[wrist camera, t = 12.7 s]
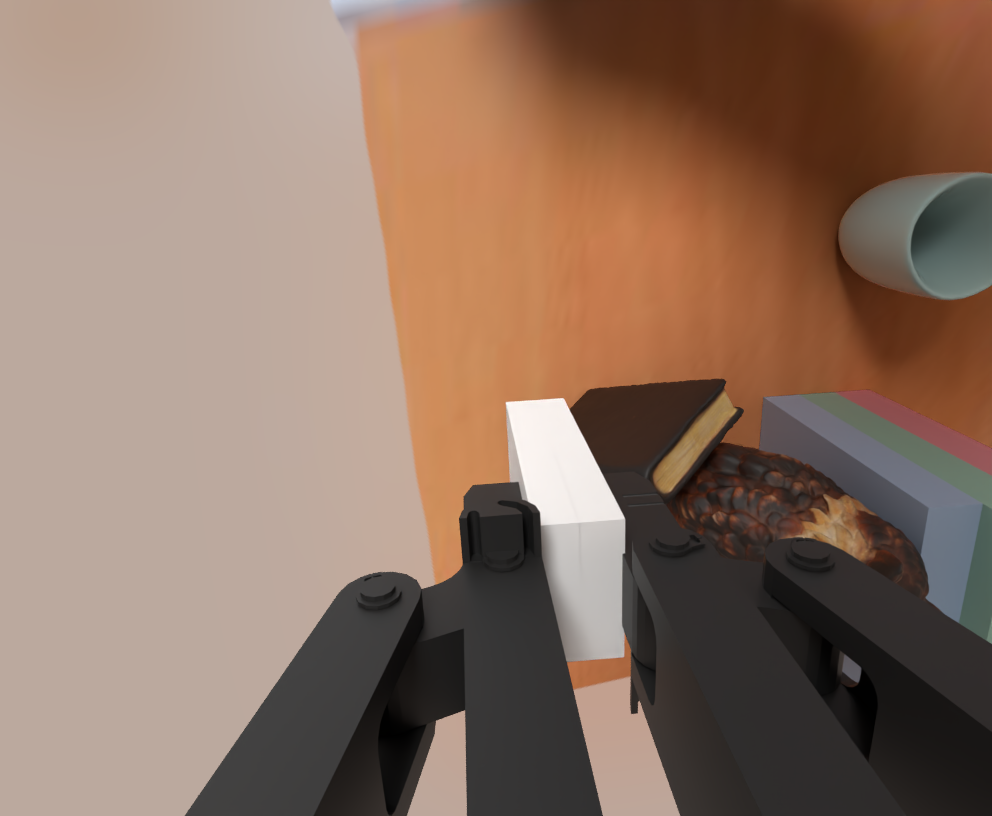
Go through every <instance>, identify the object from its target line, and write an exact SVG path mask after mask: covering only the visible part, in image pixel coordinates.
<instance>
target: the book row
mask: <svg viewBox="0 0 992 816" xmlns="http://www.w3.org/2000/svg"><path fill="white" fill-rule="evenodd" d="M759 450H762V451H766V452H772V453H776V454H784V455H787V456H789V457H792V458H795V459H798V460H799V461H801V462H802V463H803V464H804V465H805V464H806V463H807V464H809V465H811V466H812V467H813V468H814V469H815V470H817V471H820V472H822V473H823V474H824V475H825V476H826V477H829V478H831V479H832V480H833V481H834V482H835V483H836V485H837V486H838V487H840V488H841V489H842V490H843V491H844V492H845V493H848V494H849V495H850V496H852V497H854V498H856V499H857V500H859V501H860V502H861V503H862V504H863V505H864V506H865V507H866V508H867V509H869V510H870V511H872V512H874V513H876V514H877V515H878V516H879V517H880V518H882V519H883V520H884V521H887V522H889V523H891V524H892V525H893V526H894V527H895V528H898V529H899V530H901V531H902V532H903V533H904V534H905V536H906V537H907V538H908V539H909V540H910V541H911V542H912V543H913V544H914V545H915V547H916V549H917V550H918V552H919V553H920V555H921V557H922V559H923V562H924V565H925V569H926V572H927V575H928V584H929V593H928V595H927V596H926V599H927V600H928V601H929V602H931V603H932V604H934V605H935V606H936V607H937V608H939V609H940V610H941V611H942V612H943V613H944V614H945V615H947V616H948V617H950V618H951V619H953V620H955V621H956V622H958V623H959V624H961V625H963V626H964V627H966V628H967V629H969V630H971V631H972V632H974V633H975V634H977V635H978V636H980V637H982V638H983V639H985V640H986V641H988V642H990V643H991V644H992V448H990V447H988V446H986V445H984V444H982V443H980V442H978V441H975V440H973V439H971V438H969V437H967V436H965V435H963V434H961V433H959V432H957V431H955V430H952V429H950V428H948V427H946V426H944V425H942V424H940V423H938V422H936V421H934V420H932V419H930V418H927V417H925V416H923V415H921V414H919V413H917V412H915V411H913V410H911V409H909V408H907V407H904V406H902V405H900V404H898V403H896V402H894V401H892V400H890V399H888V398H886V397H884V396H881V395H879V394H877V393H875V392H873V391H871V390H857V391H843V392H829V393H814V394H800V395H786V396H772V397H763V408H762V421H761V434H760V446H759ZM842 672H844V673H845V674H846V675H847V676H848V677H849V678H851V679H852V680H854V681H855V682H857V683H858V682H859V680H860V674H861V667H860V666H858V665H857V664H856V663H855V662H854V661H852V660H851V659H850V658H849V657H847V656H846V655H844V662H843V669H842Z"/></svg>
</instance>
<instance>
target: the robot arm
mask: <svg viewBox="0 0 992 816" xmlns="http://www.w3.org/2000/svg"><path fill="white" fill-rule="evenodd" d="M506 415H507V433H508V452H509V470H510V483H497V484H483V485H473V486H472V487H471V488H470V490H469V491H468V492H467V493H466V494H465V496H464V510H463V511H462V513H461V515H460V518H459V523H460V535H461V547H462V559H463V566H462V567H461V569H460V570H459V571H458V572H457V573H456V574H455V575H454V576H453V577H451V578H449V579H448V580H446V581H444V582H442V583H439V584H437V585H434V586H431V587H428V588H424V589H421V587H420V585H419V584H418V582H417V580H415V579H413V578H412V577H410V576H408V575H407V574H402V573H396V572H378V573H373V574H369V575H366V576H363V577H360V578H359V579H357V580H355V581H353V582H351V583H349V584H348V585H347V586H346V587H345V588H344V589H343V590H341V592H340V593H339V594H338V595H337V596H336V598H335V599H334V601H333V602H332V604H331V605H330V607H329V608H328V609H327V611H326V613H325V614H324V615H323V617H322V618H321V620H320V621H319V622H318V624H317V625H316V627H315V628H314V630H313V631H312V633H311V634H310V636H309V637H308V638H307V640H306V641H305V643H304V644H303V646H302V647H301V649H300V650H299V651H298V653H297V654H296V656H295V657H294V659H293V660H292V662H291V663H290V664H289V666H288V667H287V669H286V670H285V672H284V673H283V674H282V676H281V678H280V679H279V680H278V682H277V683H276V685H275V686H274V688H273V689H272V690H271V692H270V693H269V695H268V696H267V698H266V699H265V701H264V702H263V704H262V705H261V706H260V708H259V709H258V711H257V712H256V714H255V715H254V717H253V718H252V719H251V721H250V722H249V724H248V725H247V727H246V728H245V729H244V731H243V732H242V734H241V735H240V737H239V738H238V740H237V741H236V742H235V744H234V746H233V747H232V748H231V750H230V751H229V753H228V754H227V755H226V757H225V759H224V760H223V761H222V763H221V764H220V766H219V767H218V769H217V770H216V771H215V773H214V774H213V776H212V777H211V779H210V780H209V782H208V783H207V784H206V786H205V787H204V789H203V790H202V792H201V793H200V795H199V796H198V797H197V799H196V800H195V802H194V803H193V805H192V806H191V808H190V809H189V810H188V812H187V813H186V815H185V816H407V813H408V810H409V807H410V805H411V802H412V799H413V796H414V793H415V790H416V787H417V784H418V781H419V778H420V775H421V772H422V769H423V766H424V763H425V761H426V758H427V755H428V752H429V749H430V746H431V743H432V740H433V737H434V734H435V724H436V720H439V719H442V718H444V717H447V716H450V715H453V714H455V713H458V712H461V711H464V710H465V718H466V719H465V722H466V780H467V816H603V815H602V811H601V806H600V802H599V798H598V793H597V789H596V785H595V781H594V776H593V772H592V768H591V764H590V759H589V755H588V751H587V746H586V742H585V738H584V734H583V730H582V725H581V721H580V717H579V713H578V708H577V704H576V700H575V695H574V691H573V687H572V683H571V678H570V674H569V670H568V666H567V662H573V661H585V660H596V659H608V658H620V657H624V632H625V635H626V637H627V640H628V642H629V645H630V648H631V693H630V695H631V696H630V705H631V714H635V713H638V701H639V700H640V703H641V705H642V708H643V711H644V714H645V717H646V720H647V723H648V725H649V728H650V731H651V734H652V737H653V739H654V742H655V745H656V748H657V751H658V754H659V757H660V759H661V762H662V765H663V768H664V770H665V773H666V776H667V779H668V782H669V785H670V788H671V791H672V793H673V796H674V799H675V802H676V805H677V808H678V810H679V813H680V816H992V644H991V643H990V642H988V641H986V640H985V639H983V638H982V637H980V636H978V635H977V634H975V633H974V632H972V631H971V630H969V629H967V628H966V627H964V626H963V625H961V624H959V623H958V622H956V621H955V620H953V619H951V618H950V617H948V616H947V615H945V614H944V613H942V612H940V611H939V610H937V609H936V608H934V607H932V606H931V605H929V604H928V603H926V602H925V601H923V600H921V599H920V598H918V597H917V596H915V595H913V594H912V593H910V592H909V591H907V590H905V589H904V588H902V587H901V586H899V585H898V584H896V583H894V582H893V581H891V580H890V579H888V578H886V577H885V576H883V575H882V574H880V573H879V572H877V571H875V570H874V569H872V568H871V567H869V566H867V565H866V564H864V563H863V562H861V561H859V560H858V559H856V558H855V557H853V556H852V555H850V554H848V553H847V552H845V551H844V550H842V549H839V548H837V547H835V546H833V545H831V544H829V543H825V542H822V541H818V540H816V539H813V538H806V537H805V538H803V537H794V538H785V539H779V540H777V541H774V542H772V543H770V544H769V545H768V546H767V548H766V549H765V551H764V563H763V562H753V561H743V560H735V559H729V558H723V557H721V556H720V555H719V553H718V552H717V551H716V549H715V548H714V546H713V545H712V544H711V542H709V541H708V540H707V539H706V538H705V537H704V536H702V535H700V534H698V533H696V532H693V531H691V530H688V529H683V528H681V527H680V525H679V524H678V522H677V521H676V519H675V518H674V516H673V515H672V513H671V512H670V510H669V509H668V507H667V506H666V504H664V501H663V500H662V498H661V497H660V495H658V492H657V491H656V489H655V488H654V486H653V485H652V483H651V482H650V481H649V480H648V479H646V478H644V477H642V476H641V475H639V474H637V473H635V472H621V473H608V474H602V473H601V471H600V469H599V467H598V465H597V463H596V461H595V459H594V457H593V455H592V453H591V451H590V449H589V447H588V445H587V443H586V441H585V439H584V437H583V435H582V433H581V432H580V430H579V428H578V426H577V424H576V422H575V420H574V418H573V416H572V414H571V412H570V410H569V408H568V406H567V404H566V402H565V400H564V398H559V399H545V400H530V401H516V402H506ZM844 655H846V656H847V657H849V658H850V659H851V660H852V661H854V662H855V663H856V664H857V665H858V666H860V667H861V674H860V680H859V682H858V683H857V682H855V681H854V680H852V679H851V678H849V677H848V676H847V675H846V674H845V673H844V672H842V669H843V662H844Z"/></svg>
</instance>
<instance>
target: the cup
mask: <svg viewBox="0 0 992 816" xmlns="http://www.w3.org/2000/svg"><path fill="white" fill-rule="evenodd" d="M838 240H839V247H840V250H841V253H842V256H843V258H844V259H845V261H846V263H847V264H848V265H849V266H850V267H851V269H852V270H853V271H854V272H856V273H857V274H858V275H860V276H861V277H862V278H864V279H866V280H868V281H870V282H872V283H875V284H877V285H880V286H882V287H885V288H888V289H891V290H895V291H899V292H903V293H907V294H911V295H916V296H920V297H925V298H930V299H938V300H956V299H963V298H966V297H969V296H973V295H975V294H977V293H979V292H981V291H983V290H985V289H987V288H988V287H990V286H991V285H992V173H985V172H946V173H931V174H922V175H914V176H907V177H901V178H898V179H894V180H891V181H888V182H885V183H882V184H879V185H877V186H875V187H874V188H872V189H870V190H868V191H866V192H865V193H864V194H862V195H861V196H859V197H858V198H857V199H856V200H855V201H854V202H853V203H852V204H851V205H850V206H849V208H848V209H847V210H846V212H845V213H844V215H843V217H842V219H841V222H840V226H839V231H838Z"/></svg>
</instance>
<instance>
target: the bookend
mask: <svg viewBox="0 0 992 816" xmlns="http://www.w3.org/2000/svg"><path fill="white" fill-rule="evenodd" d="M725 384H726V381H725V380H724V379H711V380H690V381H689V380H688V381H683V382H682V381H680V382H669V383H667V382H663V383H650V384H644V385H631V386H618V387H617V386H616V387H609V388H595V389H590V390H588V391H587V392H586V393H585V394H584V395H583V396H582V397H581V398H580V399H579V400H578V401H577V402H576V403H575V404H574V406H573V407H571V408H570V409H569V410H570V412H571V414H572V416H573V418H574V420H575V422H576V424H577V426H578V428H579V430H580V432H581V433H582V435H583V437H584V439H585V441H586V443H587V445H588V447H589V449H590V451H591V453H592V455H593V457H594V459H595V461H596V463H597V465H598V467H599V469H600V471H601V473H602V474H608V473H621V472H635V473H637V474H639V475H641V476H642V477H644V478H646V479H648V480H649V481H650V482H651V483H652V485H653V486H654V488H655V489H656V491H657V492H658V495H660V497H661V498H662V500H663V501H664V504H666V506H667V507H668V509H669V510H670V512H671V513H672V515H673V516H674V518H675V519H676V521H677V522H678V524H679V525H680V527H681V528H683V529H688V530H691V531H693V532H696V533H698V534H700V535H702V536H704V537H705V538H706V539H707V540H708V541H709V542H711V544H712V545H713V546H714V548H715V549H716V551H717V552H718V553H719V555H720V556H721V557H723V558H729V559H735V560H743V561H753V562H763V563H764V551H765V549H766V548H767V546H768V545H769V544H770V543H772V542H774V541H777V540H779V539H785V538H794V537H803V538H805V537H806V538H813V539H816V540H818V541H822V542H825V543H829V544H831V545H833V546H835V547H837V548H839V549H842V550H844V551H845V552H847V553H848V554H850V555H852V556H853V557H855V558H856V559H858V560H859V561H861V562H863V563H864V564H866V565H867V566H869V567H871V568H872V569H874V570H875V571H877V572H879V573H880V574H882V575H883V576H885V577H886V578H888V579H890V580H891V581H893V582H894V583H896V584H898V585H899V586H901V587H902V588H904V589H905V590H907V591H909V592H910V593H912V594H913V595H915V596H917V597H918V598H920V599H921V600H923V601H925V602H926V603H928V604H929V605H931V606H932V607H934V608H936V609H937V610H939V611H940V612H942V611H941V610H940V609H939V608H937V607H936V606H935V605H934V604H932V603H931V602H929V601H928V600H927V599H926V596H927V595H928V593H929V584H928V575H927V572H926V569H925V565H924V562H923V559H922V557H921V555H920V553H919V552H918V550H917V549H916V547H915V545H914V544H913V543H912V542H911V541H910V540H909V539H908V538H907V537H906V536H905V534H904V533H903V532H902V531H901V530H899V529H898V528H895V527H894V526H893V525H892V524H891V523H889V522H887V521H884V520H883V519H882V518H880V517H879V516H878V515H877V514H876V513H874V512H872V511H870V510H869V509H867V508H866V507H865V506H864V505H863V504H862V503H861V502H860V501H859V500H857V499H856V498H854V497H852V496H850V495H849V494H848V493H845V492H844V491H843V490H842V489H841V488H840V487H838V486H837V485H836V483H835V482H834V481H833V480H832V479H831V478H829V477H826V476H825V475H824V474H823V473H822V472H820V471H817V470H815V469H814V468H813V467H812V466H811V465H809V464H807V463H806V464H805V465H804V464H803V463H802V462H801V461H799V460H798V459H795V458H792V457H789V456H787V455H784V454H776V453H772V452H766V451H762V450H758V449H755V448H748V447H743V446H739V445H734V444H730V443H720V442H721V441H722V439H723V438H724V436H725V434H726V432H727V431H728V430H729V429H731V428H732V427H733V425H734V424H735V423H736V422H737V421H738V419H739V418H740V417H741V416H742V414H743V412H744V410H743V409H742V408H740V407H733V405H732V403H731V401H730V400H729V398H728V395H727V394H726V391H725V389H724V386H725ZM942 613H943V612H942Z"/></svg>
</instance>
